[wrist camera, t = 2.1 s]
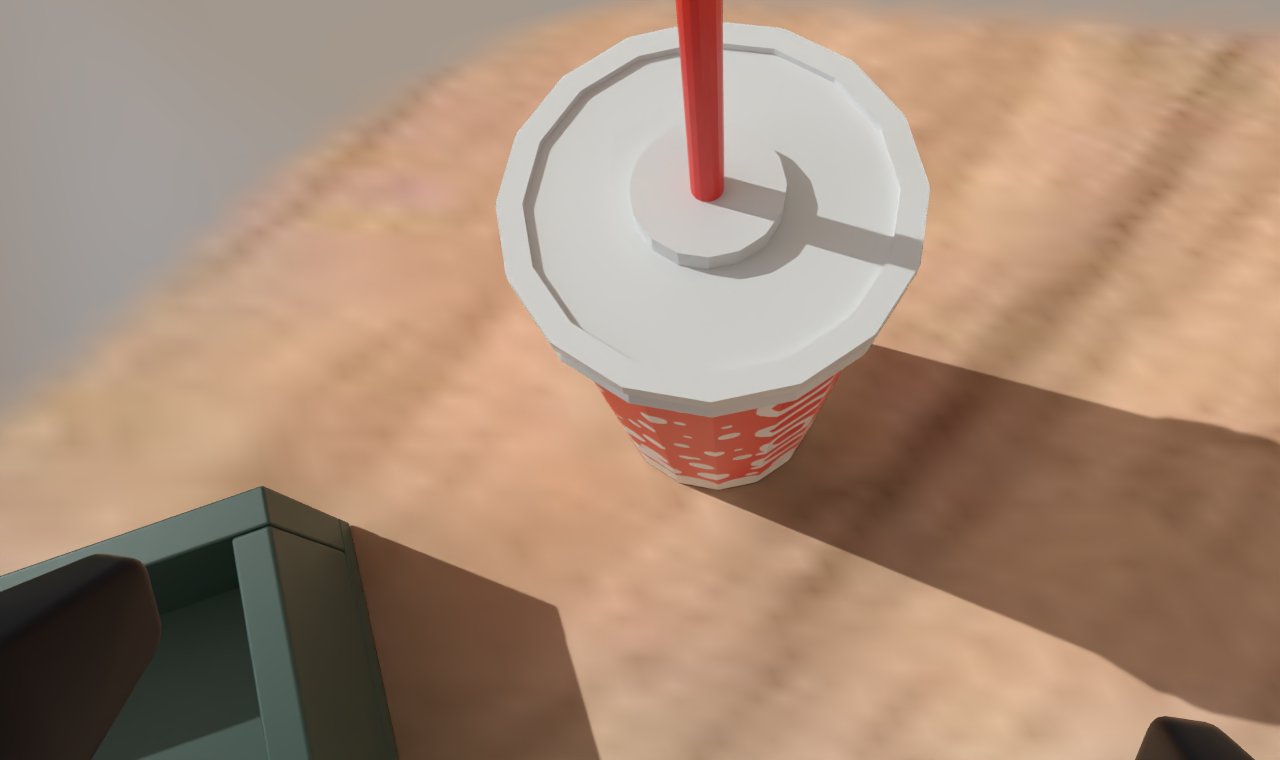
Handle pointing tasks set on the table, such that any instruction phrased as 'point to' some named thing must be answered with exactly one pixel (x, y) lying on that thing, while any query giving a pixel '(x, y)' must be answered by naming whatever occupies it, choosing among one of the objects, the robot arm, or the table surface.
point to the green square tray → (249, 638)
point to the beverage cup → (713, 234)
